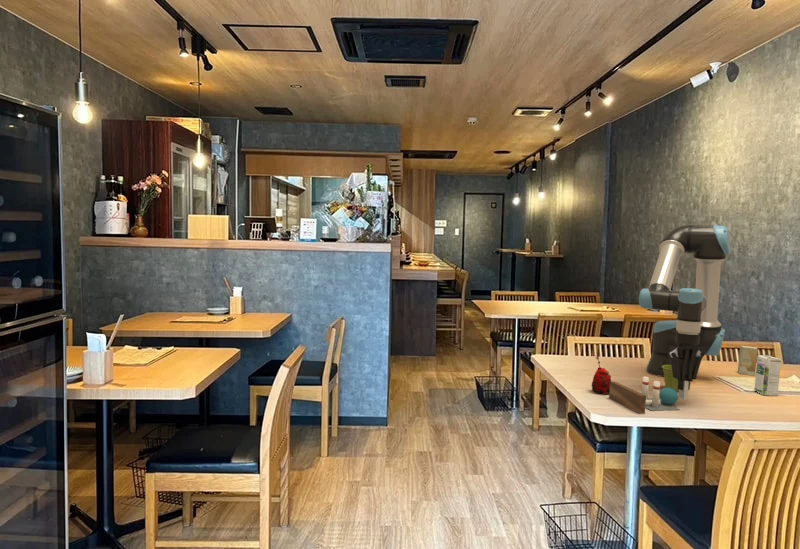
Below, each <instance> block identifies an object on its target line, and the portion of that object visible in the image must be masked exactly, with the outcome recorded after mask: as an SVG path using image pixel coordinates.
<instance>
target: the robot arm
mask: <svg viewBox="0 0 800 549" xmlns="http://www.w3.org/2000/svg"><path fill="white" fill-rule="evenodd" d="M730 236H731V235H730V232H729V229H728V227H726V226H724V225H715V224H701V225H700V224H698V225H696V224H695V225H694V224H684V225H683V224H682V225H680V226H677V227H675V228H674V229H672V230H670V231H669V232H667V234H666V235H664V237H663V238H662V239H661V241H660V243H659V246H658V254H659V255H658V258H657V261H656V264H655V267H654V270H653V273H652V277H651V279H650V283H649V286H648V288H647V287H646V288H641V289H640V292H639V296H638V304H639V306H640V308H642V309H646V310H648V309H649V310H653V311H654V310H655V311H656V310H657V311H666V312H667V311H668V312H676V314H677V317H676V319H675V320H674V319H673V320H659V321H656V322H655V324H654V326H653V332H652V333H653V336H652V337H653V338H652V350H651V351H652V352H651V356H650V358H649V360H648V363H647V365H646V372H647V373H649V374H651V375H653V376H659V377H663V378H664V371H663V368H662V366H663V365H671V366H672V373H673V377H674V378H676V379H678V389H679V391H678V399H681V400H683V401H685V400H686V401H687V400H689V399H688V397H689V390H690V389H691V383H693V382H694V380H696V379H697V377H698V373H699V369H700V366H701V363H702V360H703V358H704V357H705V356H709V357H710V356H711V357H717V356H719V355H720V352H721V349H722V346H723V342H724V337H725V332H726V329H724V328H722V324H721V322H720V321H719V320H718V313H719V299H720V298H719V297H720V286H721V285H720V282H721V268H722V263H723V262H724V261H725V260H726V258H727V257H726V256H729V255H731V237H730ZM684 254H693V257H692V258H693V259H694V260H695V261H696V273H695V274H696V276H695V277H696V278H695V288H690V287H686V288H684V287H682V288H680V289H679V290H677V291H676V290H671V289H672V285H673V282H674V279H675V275H676V272H677V268H678V265H679V263H680V262H679V261H680V258H681V257H683V255H684Z"/></svg>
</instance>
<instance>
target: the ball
mask: <svg viewBox="0 0 800 549" xmlns="http://www.w3.org/2000/svg"><path fill="white" fill-rule="evenodd" d="M659 400H660V401H662V402H663V403H664V404H666V405H671V406H673V405H675V404H676V403H677V402H678V400H679V393H678V391H675V390H674V389H672V388H665V387H664V388H662V389H661V390H659Z"/></svg>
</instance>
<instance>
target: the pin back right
mask: <svg viewBox="0 0 800 549" xmlns="http://www.w3.org/2000/svg"><path fill="white" fill-rule="evenodd" d="M641 385H642V386H641V394H644V395H646V400H648V399H649V398H648V397H649V385H650V377H649V376H645V375H644V376H642V383H641Z"/></svg>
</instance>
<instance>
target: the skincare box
mask: <svg viewBox="0 0 800 549" xmlns="http://www.w3.org/2000/svg"><path fill="white" fill-rule="evenodd" d="M739 347H740V348H739V357H738V366H737V373H738V374H740V375H748V376H755V377H756V367H757V357H758V347H757V346H749V345H748V346H747V345H740V346H739Z"/></svg>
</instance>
